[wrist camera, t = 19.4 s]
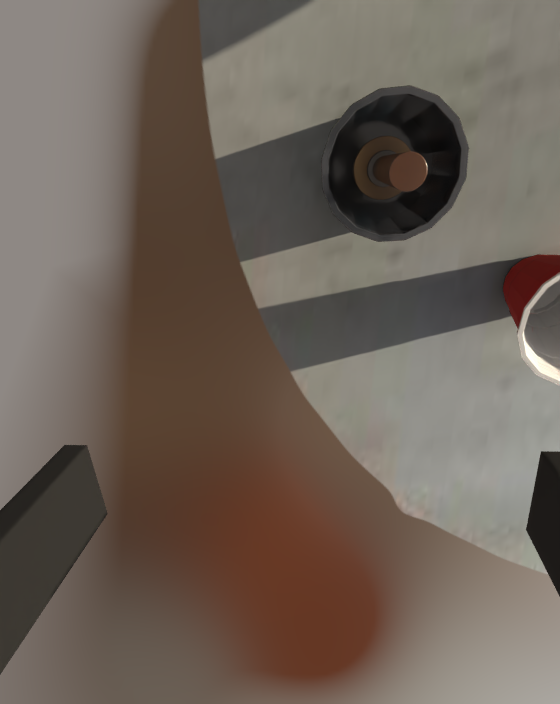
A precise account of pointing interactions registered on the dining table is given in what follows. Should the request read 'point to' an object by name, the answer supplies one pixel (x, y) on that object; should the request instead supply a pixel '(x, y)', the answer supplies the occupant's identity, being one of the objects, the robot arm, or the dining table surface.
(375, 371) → the dining table surface
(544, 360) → the plastic cup
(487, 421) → the dining table surface
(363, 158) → the brush
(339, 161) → the grey cylindrical container
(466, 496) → the dining table surface
